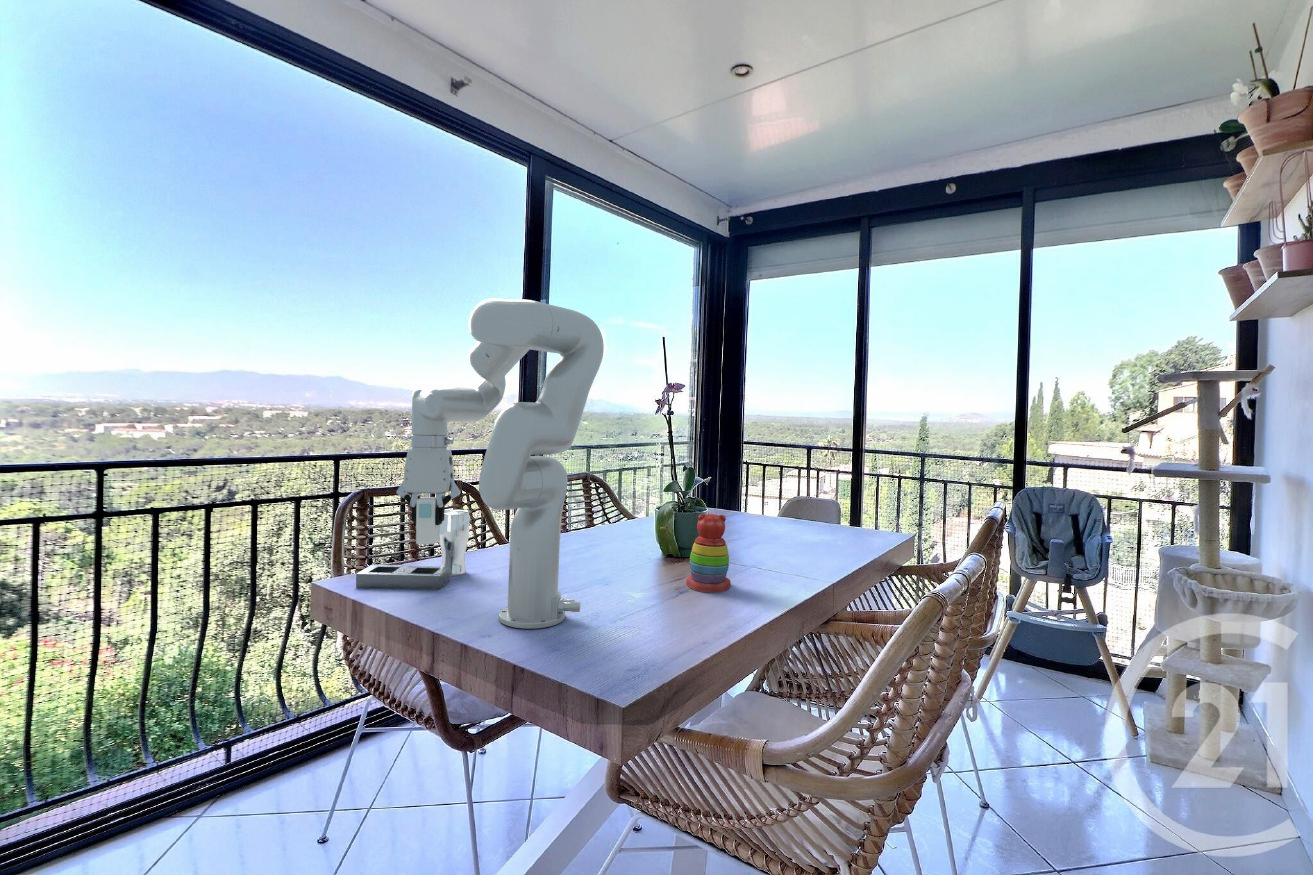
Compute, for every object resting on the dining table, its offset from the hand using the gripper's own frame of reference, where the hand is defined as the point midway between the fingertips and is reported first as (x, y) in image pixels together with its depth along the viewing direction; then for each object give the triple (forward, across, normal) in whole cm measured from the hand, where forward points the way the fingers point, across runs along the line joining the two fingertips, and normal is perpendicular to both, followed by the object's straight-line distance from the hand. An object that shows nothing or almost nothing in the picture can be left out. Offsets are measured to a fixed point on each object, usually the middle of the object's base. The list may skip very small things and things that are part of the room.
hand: (428, 523), depth 135 cm
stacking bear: (+16, -65, -5) cm, 67 cm away
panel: (+14, +5, -1) cm, 15 cm away
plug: (+4, 0, 0) cm, 4 cm away
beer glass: (+14, -3, -11) cm, 18 cm away
